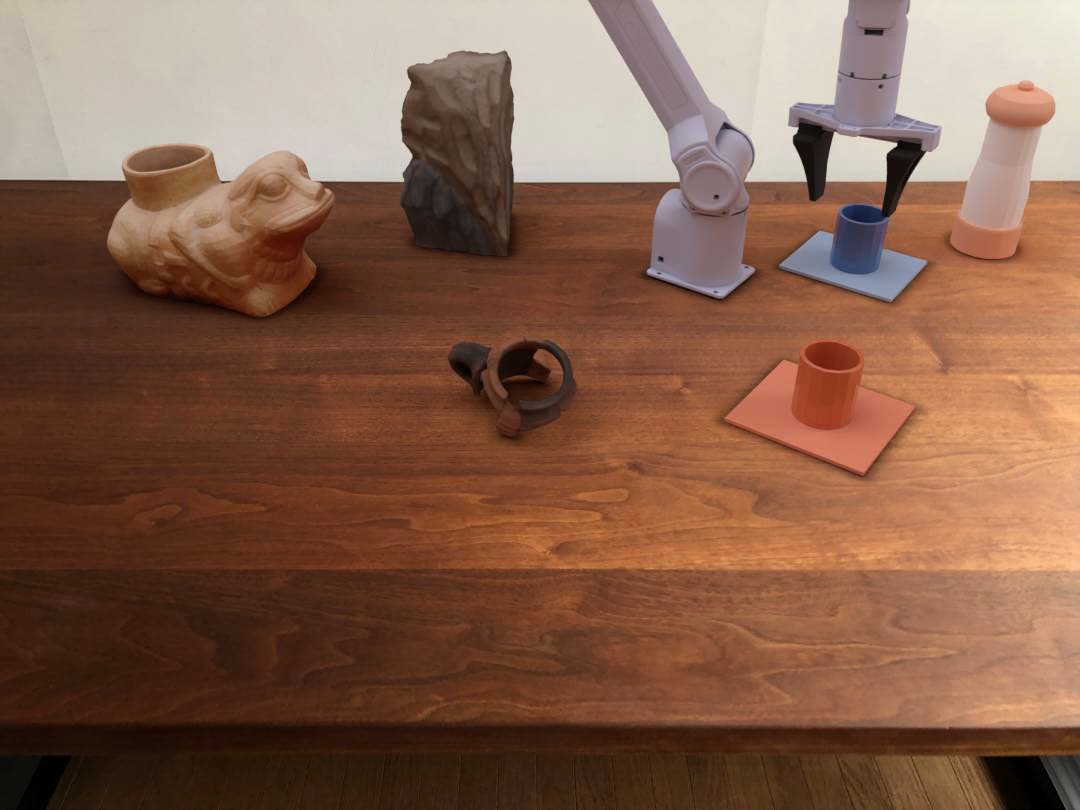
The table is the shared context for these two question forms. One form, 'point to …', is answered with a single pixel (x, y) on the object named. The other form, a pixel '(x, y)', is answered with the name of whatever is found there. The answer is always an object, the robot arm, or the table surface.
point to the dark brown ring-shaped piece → (508, 361)
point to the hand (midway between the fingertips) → (851, 205)
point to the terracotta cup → (827, 384)
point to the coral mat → (841, 447)
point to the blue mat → (877, 284)
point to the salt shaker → (1002, 172)
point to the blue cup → (858, 238)
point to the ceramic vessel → (218, 228)
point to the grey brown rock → (460, 152)
